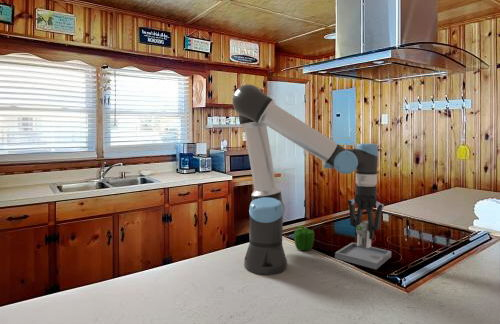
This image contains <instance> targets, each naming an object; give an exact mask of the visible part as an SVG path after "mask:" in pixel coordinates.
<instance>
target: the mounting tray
mask: <svg viewBox="0 0 500 324" xmlns="http://www.w3.org/2000/svg"><path fill="white" fill-rule="evenodd" d="M391 258H392V251H391V250H387V249H383V248H378V247H374V246H371V247H369V248H366V249H364V247H363V248H362V244H361V245H360V246H357V242H351V243H348V245H345V246H344V247H342V248H341V249H338V250H337V251H336V252H334V259H337V260H340V261H344V262H347V263H352V264H354V265H358V266H362V267H366V268H369V269H372V270H373V269H374V270H378V269H379V268H381V266H382V265H384V264H385V263H386V262H388V260H389V259H391Z"/></svg>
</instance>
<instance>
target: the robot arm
mask: <svg viewBox="0 0 500 324" xmlns="http://www.w3.org/2000/svg"><path fill="white" fill-rule="evenodd" d="M232 106H233V108H234V111H235V112H236V113H237V114H238V115H237V116H238V121H239V125H240V127H241V128H243V129H244V133H245V138H246V147H247V152H248V159H249V165H250V170H251V175H252V183H253V192H252V193H251V202H250V204H249V210H248V212H249V234H248V236H249V239H248V240H249V243H248V248H247V250H246V254H245V257H244V261H243V263H244V264H243V265H244V268H245V269H246V270H247V271H249V272H250V273H254V274H257V275H275V274H280V273H282V272H284V271H286V270H287V268H288V259H287V257H286V253H285V250H284V246H283V229H284V228H283V227H284V226H283V225H284V223H283V222H284V221H283V220H284V216H285V215H284V214H285V208H286V207H285V204H284V201H283V196H282V191H281V189H280V188H279V187H278V186H277V183H276V178H275V172H274V171H275V170H274V166H273V165H274V164H273V163H274V162H273V158H272V152H271V151H272V150H271V145H270V144H271V143H270V140H269V139H270V138H269V133H268V127H269V128H270V129H271V130H273V131H275V132H277V133H278V134H279V135H281V136H283V137H284V138H286V139H288V140H289V141H290V142H292V143H293V144H295V145H296V146H299V147H300V148H302V149H303V150H305V151H306V152H308V153H309V154H311V155H313V156H314V157H316V158H318V159H319V160H321V161H322V163H323V167H324V168H325V169H330V170H336V171H337V172H338V173H341V174H344V175H348V174H351V173H353V172H355V184H356V185H355V192H354V193H355V196H354V197H353V199H349V200H347V205H348V207H349V224H350V226H351V227H354V232H355V233H354V236H355V237H356V243H357V246H360V245H361V244H362V237H361V234H357V233H356V227H357V225H360V224H361V222H362V219H363V215H364V210H365V211H366V215H367V220H368V225H369V230H367V238H366V248H369V247H372V240H373V239H374V238H375V231H378V230H379V229H381V228H380V227H381V221H382V220H381V219H382V212H383V209H384V207H385V204H384V203H381V202H379V201H378V197H377V192H378V191H377V189H378V188H377V187H378V186H377V184H378V162H379V161H378V160H379V150H378V147H379V146H378V145H377V144H376V143H369V142H367V143H365V142H364V143H361V142H360V143H357V144H356V147H355V148H345V147H344V146H342V145H340V144H338V143H337V142H336V141H334V140H333V139H330V138H329V137H328V136H326V135H324V134H322V133H321V132H320V131H318V130H316V129H315V128H313V127H312V126H310V125H308V124H307V123H306V122H304V121H303V120H301V119H299V118H298V117H296V116H295V115H293V114H291V113H289V112H288V111H286V110H285V109H283V108H281V107H280V106H278V105H277V104H276V103H275V100H274V99H273V98H271V97H270V96H268V95H267V94H266V93H264V92H263V91H262V89H260V88H259V87H258V86H256V85H253V84H243V85H241V86H239V87H238V88H237V89H236V90H235V91H234V93H233V95H232ZM355 204H356V205H355ZM356 206H357V212H356ZM374 207H376V211H375V217H374Z"/></svg>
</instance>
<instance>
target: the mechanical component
mask: <svg viewBox="0 0 500 324" xmlns="http://www.w3.org/2000/svg"><path fill="white" fill-rule="evenodd" d="M367 230H369V225H368V219H365V220H363V221H361V224H360V225H357V227H356V233H357V234H361V237H362V248H363V247H364V249H366V244H367Z"/></svg>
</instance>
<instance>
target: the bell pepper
mask: <svg viewBox="0 0 500 324" xmlns="http://www.w3.org/2000/svg"><path fill="white" fill-rule="evenodd" d="M293 239H294V244H295V245H294V246H295V248H296V249H297V250H298V251H311V250H312V249H313V247H314V243H315V232H314V230H313V229H309V228H308V227H305V226H304V225H301V224H300V225H298V226H297V229H296V230H294V232H293Z"/></svg>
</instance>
